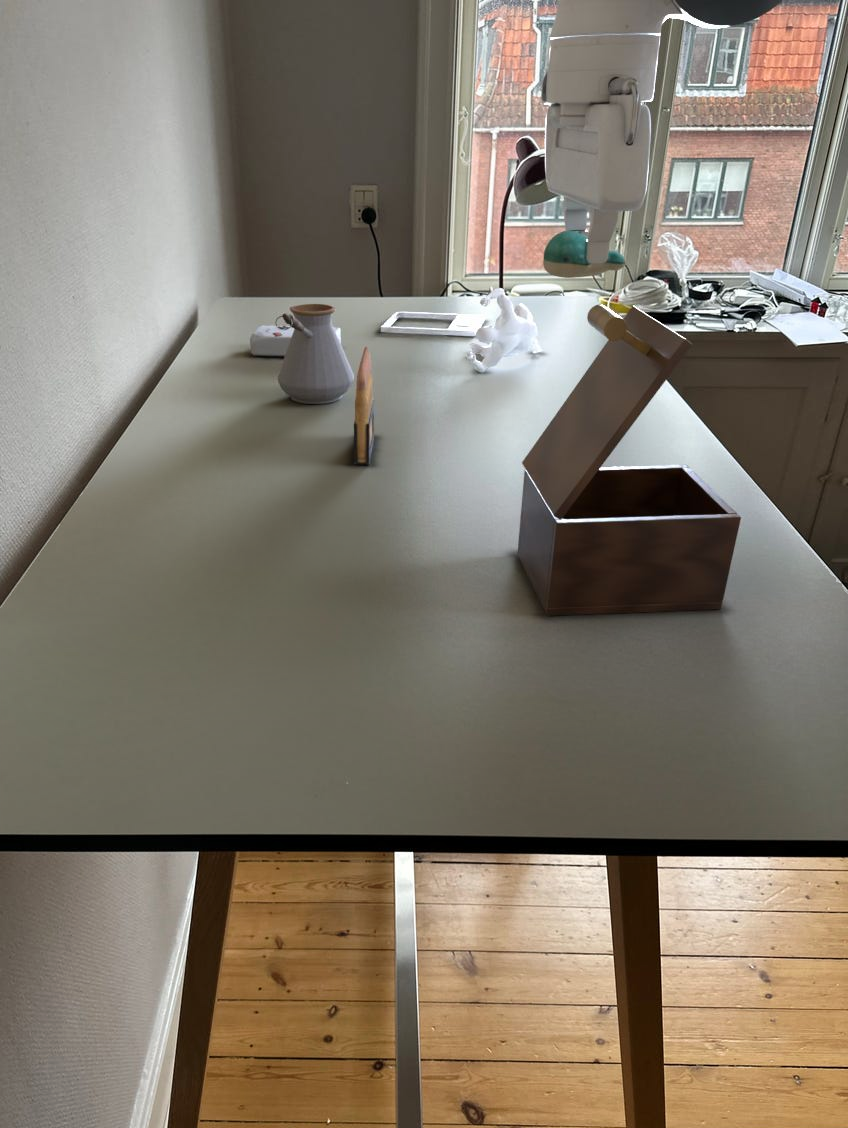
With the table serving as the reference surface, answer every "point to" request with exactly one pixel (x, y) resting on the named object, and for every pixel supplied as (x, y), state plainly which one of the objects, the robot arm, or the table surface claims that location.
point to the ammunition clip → (364, 412)
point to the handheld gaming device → (274, 340)
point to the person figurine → (504, 333)
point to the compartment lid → (603, 403)
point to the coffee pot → (314, 357)
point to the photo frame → (459, 326)
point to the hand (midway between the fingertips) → (584, 256)
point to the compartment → (630, 543)
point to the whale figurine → (575, 257)
